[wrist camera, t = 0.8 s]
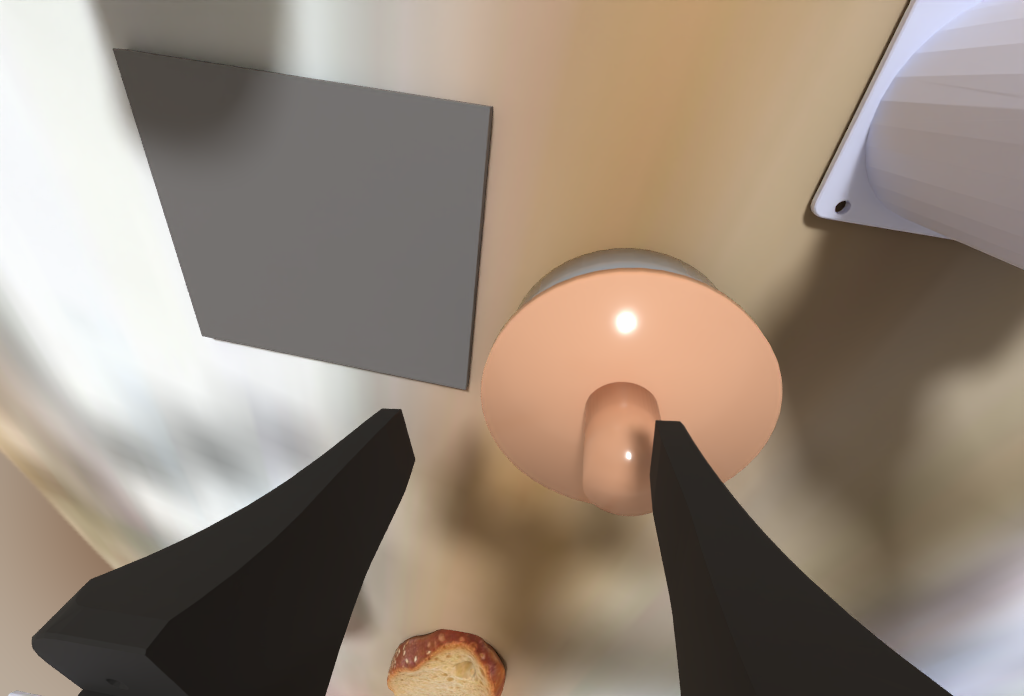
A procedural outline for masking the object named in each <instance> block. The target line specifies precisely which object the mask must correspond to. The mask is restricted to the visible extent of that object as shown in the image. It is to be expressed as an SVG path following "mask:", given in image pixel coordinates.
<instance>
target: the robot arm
mask: <svg viewBox="0 0 1024 696" xmlns="http://www.w3.org/2000/svg"><path fill="white" fill-rule="evenodd" d="M841 201H845V202H846V204H845V207H844V208H843V209H842V210H841V211H839V212H835V207H836V205H837V204H838V203H839V202H841ZM811 211H812V212H813V213H814V214H815V215H816V216H818V217H821V218H825V219H831V220H837V221H843V222H849V223H855V224H861V225H867V226H873V227H879V228H885V229H891V230H897V231H903V232H909V233H915V234H921V235H928V236H934V237H940V238H946V239H952V240H956V241H958V242H960V243H963V244H965V245H967V246H970V247H972V248H974V249H977V250H979V251H981V252H983V253H986V254H988V255H990V256H993V257H995V258H997V259H1000V260H1002V261H1004V262H1007V263H1009V264H1011V265H1014V266H1016V267H1018V268H1021V269H1023V270H1024V0H911V1H910V3H909V5H908V7H907V9H906V11H905V13H904V15H903V18H902V20H901V22H900V24H899V26H898V28H897V30H896V32H895V34H894V36H893V38H892V40H891V42H890V44H889V46H888V48H887V50H886V52H885V54H884V56H883V58H882V60H881V62H880V64H879V66H878V68H877V70H876V72H875V74H874V76H873V78H872V80H871V82H870V85H869V87H868V89H867V91H866V93H865V95H864V97H863V99H862V101H861V103H860V105H859V107H858V109H857V111H856V113H855V115H854V117H853V119H852V121H851V123H850V125H849V127H848V129H847V131H846V133H845V135H844V137H843V139H842V141H841V143H840V145H839V147H838V150H837V152H836V154H835V156H834V158H833V160H832V162H831V164H830V166H829V168H828V170H827V172H826V174H825V176H824V178H823V180H822V182H821V184H820V186H819V188H818V190H817V192H816V194H815V196H814V198H813V200H812V203H811ZM414 462H415V457H414V453H413V449H412V446H411V442H410V439H409V435H408V431H407V428H406V424H405V421H404V417H403V414H402V410H401V409H381V410H380V411H378V412H377V413H375V414H374V415H373V416H372V417H370V418H369V419H368V420H366V421H365V422H364V423H363V424H361V425H360V426H359V427H358V428H356V429H355V430H354V431H353V432H351V433H350V434H349V435H348V436H346V437H345V438H344V439H343V440H341V441H340V442H339V443H337V444H336V445H335V446H334V447H332V448H331V449H330V450H328V451H327V452H326V453H325V454H323V455H322V456H321V457H319V458H318V459H316V460H315V461H314V462H312V463H311V464H310V465H308V466H307V467H305V468H304V469H303V470H301V471H300V472H299V473H297V474H296V475H294V476H293V477H292V478H290V479H289V480H287V481H286V482H284V483H283V484H281V485H280V486H278V487H277V488H275V489H274V490H272V491H271V492H269V493H267V494H266V495H264V496H262V497H261V498H259V499H258V500H256V501H254V502H253V503H251V504H249V505H248V506H246V507H244V508H242V509H241V510H239V511H237V512H235V513H233V514H231V515H230V516H228V517H226V518H224V519H222V520H221V521H219V522H217V523H215V524H213V525H211V526H210V527H208V528H206V529H204V530H202V531H200V532H198V533H196V534H194V535H192V536H190V537H188V538H186V539H184V540H182V541H179V542H177V543H175V544H173V545H171V546H169V547H167V548H164V549H162V550H160V551H158V552H156V553H153V554H151V555H149V556H147V557H144V558H142V559H139V560H137V561H134V562H132V563H130V564H127V565H125V566H122V567H120V568H118V569H115V570H113V571H110V572H108V573H106V574H103V575H100V576H98V577H95V578H93V579H91V580H89V581H88V582H87V583H86V584H85V585H84V586H83V587H82V588H81V589H80V590H79V591H78V592H77V593H76V594H75V595H74V596H73V597H72V598H71V599H70V600H69V601H68V602H67V603H66V604H65V605H64V606H63V607H62V608H61V609H60V610H59V611H58V612H57V613H56V614H55V615H54V616H53V617H52V618H51V619H50V620H49V621H48V622H47V623H46V624H45V625H44V626H43V627H42V628H41V629H40V630H39V631H38V632H37V633H36V634H35V635H34V636H33V637H32V647H33V649H34V650H35V652H36V653H37V654H38V656H40V657H41V658H42V659H43V660H44V661H46V662H47V663H48V664H49V665H51V666H52V667H53V668H55V669H56V670H58V671H59V672H60V673H61V674H63V675H64V676H65V677H67V678H68V679H69V680H71V681H72V682H74V683H75V684H76V685H78V686H79V687H80V688H82V689H83V690H82V691H81V692H80V693H79V695H78V696H325V695H326V692H327V688H328V685H329V682H330V679H331V675H332V672H333V669H334V666H335V662H336V659H337V656H338V653H339V649H340V646H341V643H342V640H343V638H344V635H345V632H346V629H347V626H348V623H349V620H350V617H351V614H352V611H353V608H354V606H355V603H356V600H357V597H358V595H359V592H360V589H361V586H362V584H363V581H364V578H365V576H366V573H367V571H368V569H369V567H370V564H371V562H372V560H373V558H374V556H375V554H376V551H377V549H378V547H379V545H380V543H381V541H382V539H383V537H384V535H385V533H386V531H387V529H388V526H389V524H390V522H391V520H392V518H393V516H394V514H395V512H396V510H397V508H398V505H399V503H400V501H401V499H402V497H403V495H404V492H405V490H406V487H407V484H408V481H409V478H410V475H411V472H412V469H413V465H414ZM650 487H651V499H652V510H653V516H654V521H655V526H656V531H657V536H658V541H659V546H660V551H661V556H662V561H663V566H664V571H665V576H666V581H667V586H668V591H669V596H670V602H671V608H672V614H673V623H674V632H675V641H676V650H677V659H678V669H679V679H680V689H681V696H953V695H951V694H950V693H949V692H947V691H946V690H945V689H943V688H942V687H941V686H940V685H938V684H937V683H936V682H934V681H933V680H932V679H930V678H929V677H928V676H926V675H925V674H924V673H922V672H921V671H920V670H918V669H917V668H916V667H914V666H913V665H912V664H910V663H909V662H908V661H906V660H905V659H904V658H902V657H901V656H900V655H898V654H897V653H896V652H894V651H893V650H892V649H891V648H889V647H888V646H887V645H886V644H884V643H883V642H882V641H881V640H880V639H878V638H877V637H876V636H875V635H873V634H872V633H871V632H870V631H869V630H867V629H866V628H865V627H864V626H863V625H861V624H860V623H859V622H858V621H857V620H855V619H854V618H853V617H852V616H851V615H849V614H848V613H847V612H846V611H845V610H844V609H843V608H842V607H841V606H839V605H838V604H837V603H836V602H835V601H834V600H833V599H832V598H831V597H829V596H828V595H827V594H826V593H825V592H824V591H823V590H822V589H821V588H819V587H818V586H817V585H816V584H815V583H814V582H813V581H812V580H810V579H809V578H808V577H807V576H806V575H805V574H804V573H803V572H802V571H801V570H800V569H799V568H798V567H797V566H796V565H795V564H794V563H793V562H792V561H791V560H790V559H789V558H788V557H787V556H786V555H785V554H784V553H783V552H782V551H781V550H780V549H779V548H778V547H777V546H776V545H775V544H774V543H773V541H772V540H771V539H770V538H769V537H768V536H767V535H766V534H765V533H764V532H763V531H762V530H761V528H760V527H759V526H758V525H757V524H756V523H755V522H754V521H753V519H752V518H751V517H750V516H749V515H748V513H747V512H746V511H745V510H744V509H743V508H742V506H741V505H740V504H739V503H738V502H737V500H736V499H735V498H734V497H733V495H732V494H731V493H730V492H729V490H728V489H727V488H726V486H725V485H724V484H723V482H722V481H721V480H720V478H719V477H718V476H717V474H716V473H715V472H714V470H713V469H712V467H711V466H710V465H709V463H708V462H707V460H706V459H705V457H704V456H703V455H702V453H701V452H700V450H699V449H698V447H697V446H696V444H695V442H694V441H693V439H692V438H691V436H690V434H689V433H688V431H687V430H686V428H685V426H684V425H683V424H682V423H681V422H680V421H663V420H656V421H655V430H654V439H653V448H652V457H651V466H650ZM8 696H40V695H35V694H31V693H26V692H21V691H15V692H12V693H10V694H9V695H8Z"/></svg>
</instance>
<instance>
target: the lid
mask: <svg viewBox="0 0 1024 696" xmlns="http://www.w3.org/2000/svg"><path fill="white" fill-rule="evenodd" d="M481 401H482V409H483V414H484V417H485V420H486V424H487V426H488V428H489V431H490V433H491V435H492V437H493V439H494V440H495V442H496V443H497V445H498V446H499V448H500V449H501V451H502V452H503V453H504V454H505V455H506V457H507V458H508V459H509V460H510V461H511V462H512V463H513V464H514V465H515V466H516V467H517V468H518V469H519V470H521V471H522V472H523V473H525V474H526V475H527V476H529V477H530V478H531V479H533V480H534V481H536V482H538V483H539V484H541V485H543V486H544V487H546V488H548V489H551V490H553V491H555V492H557V493H559V494H562V495H565V496H567V497H570V498H573V499H576V500H580V501H584V502H587V503H592V504H594V505H596V506H597V507H599V508H600V509H602V510H604V511H607V512H609V513H613V514H617V515H623V516H638V515H644V514H648V513H651V512H653V510H652V499H651V487H650V466H651V457H652V448H653V439H654V430H655V421H656V420H663V421H680V422H681V423H682V424H683V425H684V426H685V428H686V430H687V431H688V433H689V434H690V436H691V438H692V439H693V441H694V442H695V444H696V446H697V447H698V449H699V450H700V452H701V453H702V455H703V456H704V457H705V459H706V460H707V462H708V463H709V465H710V466H711V467H712V469H713V470H714V472H715V473H716V474H717V476H718V477H719V478H720V480H721V481H722V482H723V483H724V482H726V481H727V480H729V479H730V478H732V477H734V476H735V475H736V474H737V473H739V472H740V471H741V470H742V469H744V468H745V467H746V466H747V465H748V464H749V463H750V462H751V461H752V460H753V459H754V458H755V457H756V456H757V455H758V454H759V452H760V451H761V450H762V448H763V447H764V445H765V444H766V443H767V441H768V440H769V438H770V436H771V434H772V432H773V430H774V428H775V426H776V423H777V420H778V417H779V414H780V410H781V402H782V378H781V373H780V369H779V365H778V361H777V359H776V357H775V354H774V352H773V350H772V348H771V346H770V344H769V343H768V341H767V340H766V338H765V337H764V335H763V334H762V332H761V331H760V329H759V328H758V326H757V325H756V323H755V322H754V320H753V319H752V318H751V317H750V316H749V315H748V314H747V313H746V312H745V311H744V310H743V309H742V308H741V307H740V306H739V305H738V304H737V303H735V302H734V301H733V300H732V299H730V298H729V297H728V296H726V295H725V294H724V293H722V292H720V291H718V290H716V289H715V288H713V287H711V286H709V285H707V284H706V283H703V282H701V281H698V280H695V279H693V278H690V277H688V276H685V275H681V274H677V273H673V272H668V271H664V270H656V269H648V268H615V269H607V270H599V271H594V272H590V273H586V274H582V275H579V276H575V277H573V278H570V279H567V280H565V281H562V282H560V283H557V284H555V285H553V286H552V287H550V288H548V289H546V290H544V291H542V292H541V293H539V294H538V295H536V296H535V297H533V298H532V299H531V300H529V301H528V302H527V303H525V304H524V305H523V306H522V307H521V308H520V309H519V310H518V311H517V312H516V313H515V314H514V315H512V316H511V318H510V319H509V320H508V322H507V323H506V324H505V325H504V327H503V328H502V329H501V331H500V333H499V335H498V336H497V338H496V340H495V342H494V343H493V346H492V349H491V351H490V354H489V356H488V359H487V362H486V364H485V367H484V372H483V377H482V382H481Z"/></svg>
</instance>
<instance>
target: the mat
mask: <svg viewBox="0 0 1024 696" xmlns="http://www.w3.org/2000/svg"><path fill="white" fill-rule="evenodd" d="M113 51H114V54H115V57H116V60H117V64H118V67H119V70H120V73H121V77H122V80H123V83H124V86H125V89H126V93H127V96H128V99H129V102H130V105H131V109H132V112H133V115H134V118H135V122H136V125H137V128H138V131H139V134H140V138H141V141H142V144H143V147H144V150H145V154H146V157H147V160H148V163H149V167H150V170H151V173H152V176H153V179H154V183H155V186H156V189H157V192H158V195H159V199H160V202H161V205H162V208H163V212H164V215H165V218H166V221H167V224H168V228H169V231H170V234H171V237H172V240H173V244H174V247H175V250H176V253H177V257H178V260H179V263H180V266H181V269H182V273H183V276H184V279H185V282H186V285H187V289H188V292H189V295H190V298H191V302H192V305H193V308H194V311H195V314H196V318H197V321H198V324H199V327H200V331H201V334H202V336H205V337H210V338H215V339H219V340H224V341H229V342H234V343H239V344H244V345H249V346H254V347H258V348H263V349H268V350H273V351H278V352H283V353H288V354H293V355H298V356H302V357H307V358H312V359H317V360H322V361H327V362H332V363H337V364H341V365H346V366H351V367H356V368H361V369H366V370H371V371H376V372H380V373H385V374H390V375H395V376H400V377H405V378H410V379H415V380H420V381H424V382H429V383H434V384H439V385H444V386H449V387H454V388H459V389H463V390H466V388H467V386H468V384H469V372H470V361H471V350H472V339H473V327H474V316H475V305H476V294H477V282H478V271H479V260H480V249H481V237H482V226H483V215H484V204H485V192H486V181H487V170H488V159H489V147H490V136H491V125H492V114H493V107H492V106H485V105H479V104H472V103H466V102H460V101H453V100H447V99H440V98H434V97H427V96H421V95H415V94H408V93H402V92H395V91H389V90H383V89H376V88H370V87H363V86H357V85H351V84H344V83H338V82H331V81H325V80H318V79H312V78H306V77H299V76H293V75H286V74H280V73H274V72H267V71H261V70H254V69H248V68H241V67H235V66H229V65H222V64H216V63H209V62H203V61H197V60H190V59H184V58H177V57H171V56H165V55H158V54H152V53H145V52H139V51H132V50H126V49H113Z"/></svg>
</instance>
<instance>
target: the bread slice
mask: <svg viewBox="0 0 1024 696" xmlns="http://www.w3.org/2000/svg"><path fill="white" fill-rule="evenodd" d="M504 682H505V668H504V666H503V664H502V662H501V660H500V658H499V657H498V655H497V654H496V652H495V651H494V649H493V648H492V647H491V646H490V645H489V644H487V643H486V642H485V641H484V640H483V639H482V638H481V637H479V636H476V635H473V634H470V633H464V632H459V631H453V630H445V629H441V630H437V631H435V632H433V633H430V634H427V635H422V636H415V637H412V638H409V639H407V640H406V641H404V642H403V643H401V644H400V645H399V647H398V649H397V650H396V652H395V655H394V656H393V659H392V662H391V667H390V670H389V673H388V678H387V685H388V688H389V689H390V690H391V691H393V692H394V695H395V696H500V695H501V693H502V691H503V686H504Z"/></svg>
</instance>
